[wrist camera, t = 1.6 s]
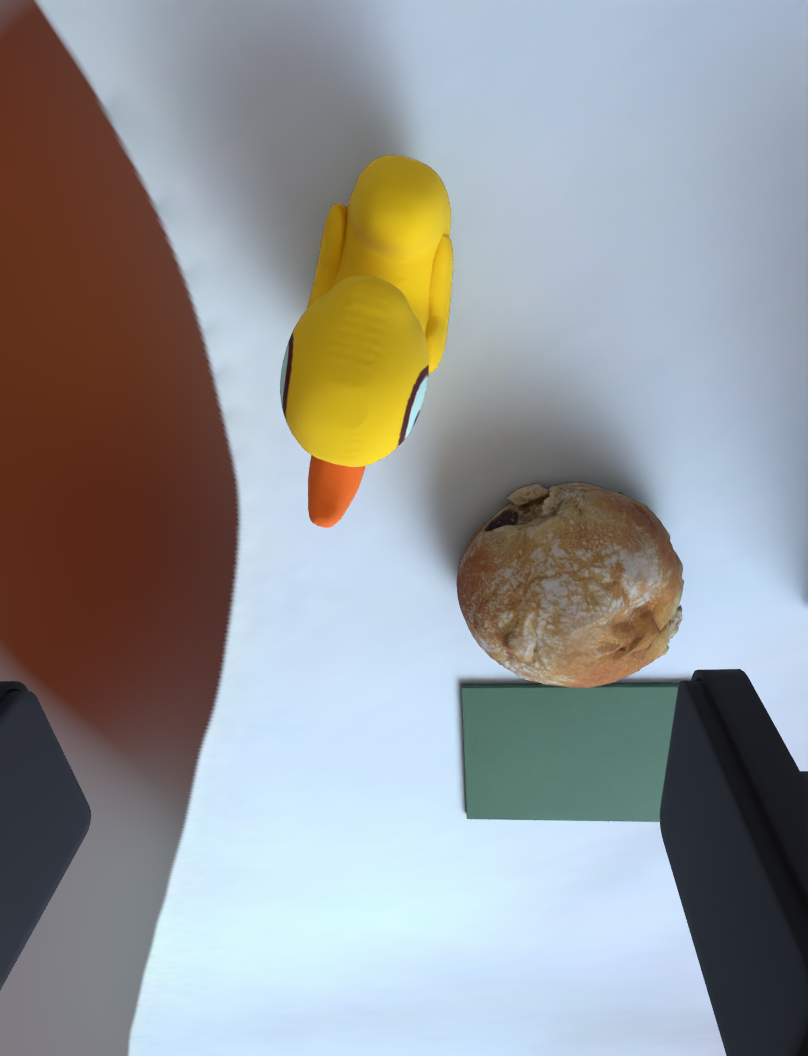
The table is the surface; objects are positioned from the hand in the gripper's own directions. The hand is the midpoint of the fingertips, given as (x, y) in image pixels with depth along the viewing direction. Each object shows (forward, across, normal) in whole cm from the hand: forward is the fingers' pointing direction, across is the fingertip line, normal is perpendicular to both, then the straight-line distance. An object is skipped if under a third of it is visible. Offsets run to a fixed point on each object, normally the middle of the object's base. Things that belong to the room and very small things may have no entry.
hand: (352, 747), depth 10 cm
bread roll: (+21, -6, +11) cm, 25 cm away
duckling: (+21, +1, -2) cm, 22 cm away
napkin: (+21, -7, +24) cm, 33 cm away
